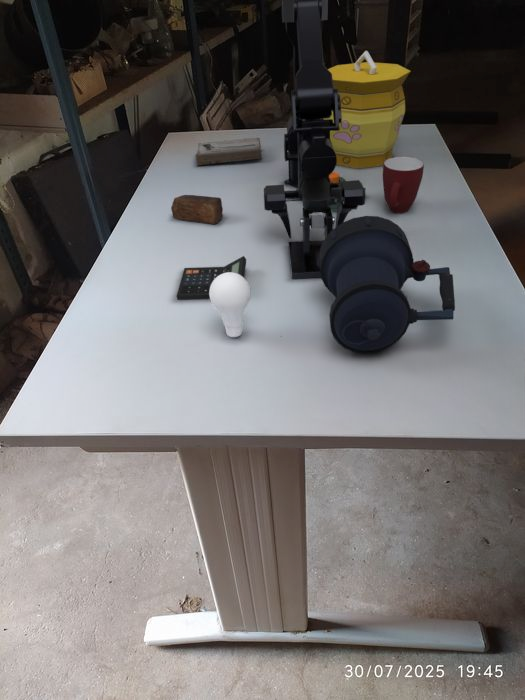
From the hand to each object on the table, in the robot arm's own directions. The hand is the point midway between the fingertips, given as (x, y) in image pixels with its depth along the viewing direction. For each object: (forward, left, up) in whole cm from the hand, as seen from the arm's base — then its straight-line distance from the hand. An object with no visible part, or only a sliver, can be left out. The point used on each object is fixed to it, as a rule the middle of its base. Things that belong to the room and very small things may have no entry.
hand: (313, 236), depth 107 cm
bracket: (+6, -6, -1) cm, 8 cm away
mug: (+6, +21, -1) cm, 22 cm away
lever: (+4, -4, +4) cm, 7 cm away
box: (-48, +22, -1) cm, 53 cm away
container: (-20, +43, -1) cm, 48 cm away
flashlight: (+27, -15, -1) cm, 31 cm away
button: (-10, +18, +3) cm, 21 cm away
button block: (-10, +18, -1) cm, 21 cm away
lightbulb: (+11, -32, -1) cm, 34 cm away
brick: (-26, -8, -1) cm, 27 cm away
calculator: (-3, -24, -1) cm, 24 cm away
